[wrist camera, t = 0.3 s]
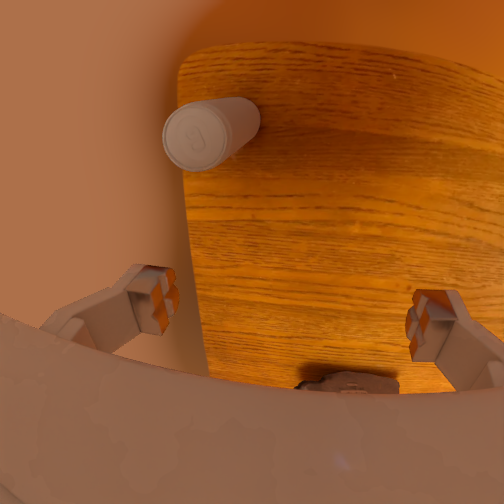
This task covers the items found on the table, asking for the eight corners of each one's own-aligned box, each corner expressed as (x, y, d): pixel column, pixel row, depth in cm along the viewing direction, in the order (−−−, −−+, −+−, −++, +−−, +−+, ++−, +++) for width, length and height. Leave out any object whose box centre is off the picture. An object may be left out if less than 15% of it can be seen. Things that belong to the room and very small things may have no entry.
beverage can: (251, 89, 27) (211, 90, 17) (269, 133, 29) (241, 159, 19) (208, 107, 29) (149, 121, 19) (226, 149, 31) (178, 184, 20)
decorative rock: (292, 379, 46) (278, 462, 34) (301, 353, 43) (288, 444, 30) (386, 391, 44) (390, 470, 32) (402, 367, 41) (413, 452, 28)
